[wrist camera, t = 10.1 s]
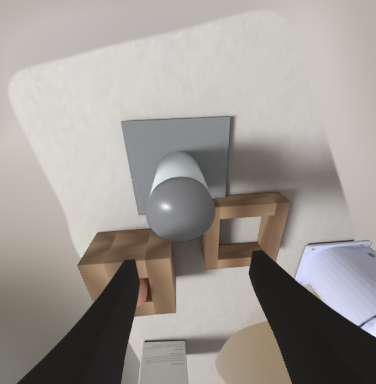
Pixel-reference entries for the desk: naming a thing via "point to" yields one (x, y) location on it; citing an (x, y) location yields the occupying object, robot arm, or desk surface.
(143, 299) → the plunger
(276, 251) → the sleeve
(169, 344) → the skincare box
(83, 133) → the desk surface
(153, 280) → the plunger housing
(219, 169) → the pad
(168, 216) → the cylinder
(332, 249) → the robot arm
